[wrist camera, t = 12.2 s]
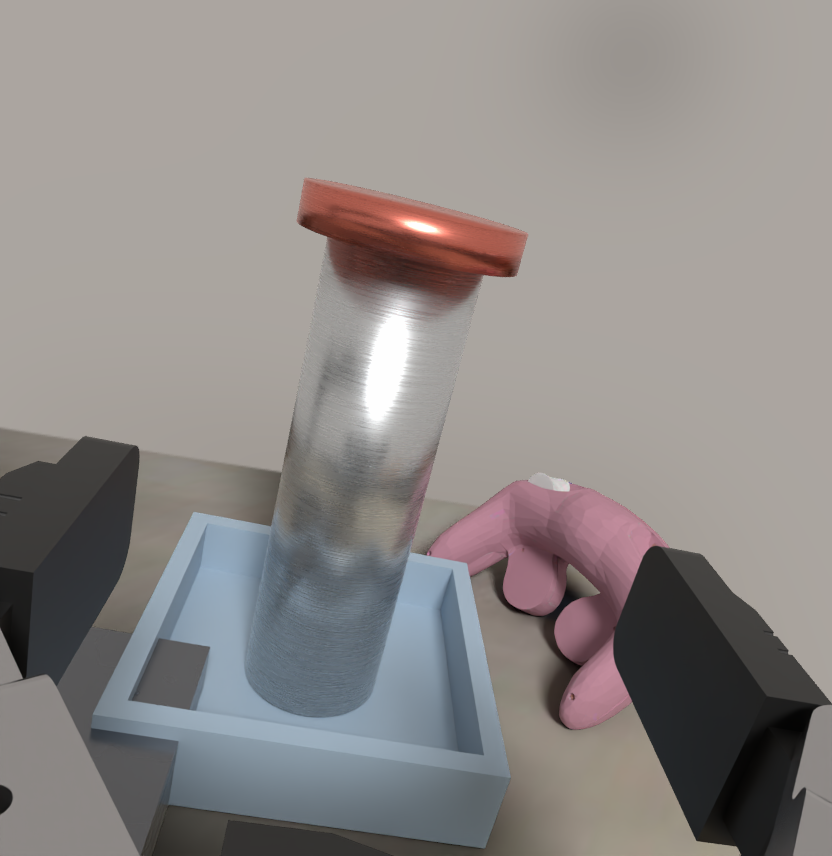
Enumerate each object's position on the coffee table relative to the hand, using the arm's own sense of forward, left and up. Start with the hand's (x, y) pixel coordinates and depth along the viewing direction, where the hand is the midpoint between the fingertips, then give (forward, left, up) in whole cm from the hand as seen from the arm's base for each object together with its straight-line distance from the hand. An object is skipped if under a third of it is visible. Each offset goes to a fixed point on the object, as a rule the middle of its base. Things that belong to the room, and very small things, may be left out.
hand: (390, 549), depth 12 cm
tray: (0, +9, -10) cm, 13 cm away
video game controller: (+8, +14, -10) cm, 19 cm away
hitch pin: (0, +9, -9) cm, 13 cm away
